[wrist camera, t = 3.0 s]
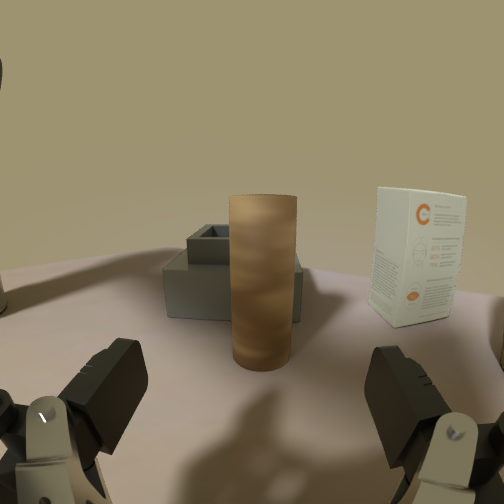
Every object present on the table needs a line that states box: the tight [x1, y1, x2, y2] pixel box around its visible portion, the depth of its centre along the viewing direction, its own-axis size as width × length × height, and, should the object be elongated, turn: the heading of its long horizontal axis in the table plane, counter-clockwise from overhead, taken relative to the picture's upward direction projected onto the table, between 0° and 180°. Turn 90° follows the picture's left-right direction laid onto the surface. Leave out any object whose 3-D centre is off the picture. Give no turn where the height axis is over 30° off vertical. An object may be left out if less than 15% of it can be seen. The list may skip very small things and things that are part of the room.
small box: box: [368, 187, 467, 328], centre depth 25 cm, size 8×6×13 cm
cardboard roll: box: [229, 194, 297, 371], centre depth 20 cm, size 4×4×12 cm
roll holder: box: [162, 225, 303, 322], centre depth 32 cm, size 13×13×8 cm
